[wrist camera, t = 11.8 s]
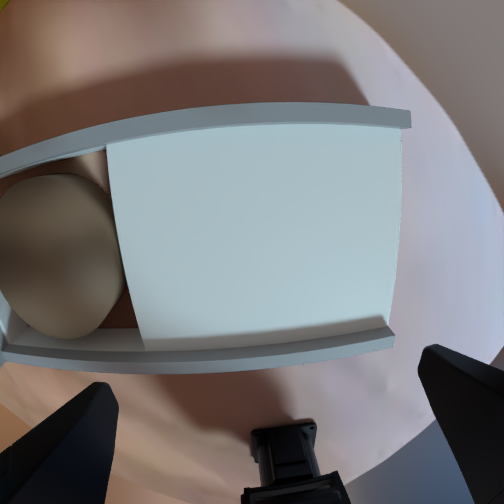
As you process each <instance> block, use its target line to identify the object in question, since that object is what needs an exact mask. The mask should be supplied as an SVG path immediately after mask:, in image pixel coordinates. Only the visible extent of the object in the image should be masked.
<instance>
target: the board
mask: <svg viewBox="0 0 504 504" xmlns="http://www.w3.org/2000/svg"><path fill="white" fill-rule="evenodd" d="M407 128H411V114H410V111H408V110H401V109H394V108H386V107H377V106H367V105H355V104H341V103H319V102H265V103H243V104H228V105H216V106H206V107H197V108H189V109H181V110H174V111H167V112H161V113H155V114H149V115H143V116H138V117H133V118H128V119H123V120H118V121H114V122H109V123H105V124H101V125H97V126H93V127H89V128H85V129H81V130H78V131H74V132H70V133H67V134H64V135H60V136H57V137H54V138H51V139H48V140H45V141H42V142H39V143H36V144H33V145H30V146H27V147H24V148H22V149H19V150H16V151H14V152H11V153H9V154H6V155H4V156H1V157H0V179H2V178H5V177H7V176H10V175H13V174H16V173H19V172H22V171H26V170H29V169H32V168H35V167H39V166H42V165H45V164H49V163H52V162H56V161H60V160H63V159H67V158H71V157H75V156H79V155H83V154H88V153H92V152H97V151H101V150H106V149H107V161H108V171H109V180H110V188H111V196H112V203H113V210H114V216H115V222H116V228H117V234H118V240H119V245H120V250H121V255H122V260H123V265H124V270H125V274H126V279H127V283H128V287H129V292H130V296H131V300H132V304H133V308H134V312H135V315H136V319H137V323H138V326H139V328H111V329H95V330H94V331H92V332H91V333H89V334H87V335H85V336H83V337H79V338H75V339H59V338H55V337H51V336H48V335H46V334H43V333H41V332H39V331H37V330H36V329H34V328H33V327H28V326H27V323H26V322H25V321H24V320H22V319H21V318H20V317H19V316H18V315H17V314H16V312H15V311H14V310H13V309H12V308H11V306H10V305H9V304H8V302H7V301H6V299H5V298H4V296H3V294H2V292H1V290H0V368H1V367H2V366H3V364H4V363H5V362H6V361H8V362H13V363H19V364H26V365H32V366H39V367H47V368H55V369H64V370H74V371H86V372H100V373H119V374H199V373H219V372H234V371H247V370H257V369H267V368H276V367H285V366H292V365H300V364H307V363H314V362H320V361H326V360H332V359H338V358H343V357H349V356H354V355H359V354H364V353H369V352H374V351H378V350H383V349H387V348H391V347H393V344H394V340H395V334H394V333H393V332H392V331H391V329H390V328H389V327H388V323H389V317H390V311H391V305H392V298H393V291H394V284H395V276H396V268H397V258H398V248H399V235H400V220H401V195H402V153H401V129H407Z"/></svg>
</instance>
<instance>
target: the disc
mask: <svg viewBox="0 0 504 504" xmlns="http://www.w3.org/2000/svg"><path fill="white" fill-rule="evenodd" d="M127 284H128V283H127V279H126V274H125V270H124V265H123V260H122V255H121V250H120V245H119V240H118V234H117V228H116V222H115V216H114V210H113V203H112V199H111V198H110V197H109V196H108V195H107V193H106V192H105V191H103V190H102V189H101V188H100V187H99V186H98V185H96V184H95V183H93V182H92V181H90V180H88V179H86V178H84V177H82V176H78V175H75V174H69V173H58V174H51V175H45V176H39V177H33V178H28V179H24V180H22V181H20V182H18V183H16V184H14V185H13V186H12V187H10V188H9V189H8V190H7V191H6V192H5V193H4V194H3V196H2V197H1V199H0V290H1V292H2V294H3V296H4V298H5V299H6V301H7V302H8V304H9V305H10V306H11V308H12V309H13V310H14V311H15V312H16V314H17V315H18V316H19V317H20V318H21V319H22V320H24V321H25V322H26V323H27V324H28V325H30V326H31V327H33V328H34V329H36V330H37V331H39V332H41V333H43V334H46V335H48V336H51V337H55V338H59V339H75V338H79V337H83V336H85V335H87V334H89V333H91V332H92V331H94V330H95V329H96V328H97V327H98V326H99V325H100V324H101V323H102V321H103V320H104V319H105V317H106V316H107V314H108V313H109V312H110V310H111V309H112V308H113V306H114V305H115V303H116V302H117V301H118V299H119V298H120V297H121V295H122V294H123V292H124V290H125V288H126V286H127Z"/></svg>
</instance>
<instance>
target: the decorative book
mask: <svg viewBox="0 0 504 504" xmlns="http://www.w3.org/2000/svg"><path fill="white" fill-rule="evenodd" d="M9 1H10V0H0V11H1V10H2V9H3V7H4V6H5V5H6V4H7V3H8V2H9Z"/></svg>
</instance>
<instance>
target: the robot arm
mask: <svg viewBox="0 0 504 504" xmlns="http://www.w3.org/2000/svg"><path fill="white" fill-rule="evenodd" d="M418 375H419V378H420V380H421V383H422V385H423V388H424V390H425V393H426V395H427V398H428V400H429V403H430V406H431V408H432V411H433V413H434V415H435V417H436V419H437V421H438V423H439V425H440V427H441V429H442V431H443V433H444V435H445V438H446V440H447V442H448V444H449V446H450V448H451V450H452V452H453V454H454V456H455V459H456V461H457V463H458V465H459V468H460V470H461V472H462V474H463V476H464V479H465V481H466V483H467V486H468V488H469V491H470V493H471V496H472V498H473V501H474V503H475V504H504V371H502V370H500V369H498V368H495V367H493V366H490V365H488V364H485V363H483V362H480V361H478V360H475V359H473V358H470V357H468V356H466V355H463V354H461V353H458V352H456V351H453V350H451V349H448V348H446V347H443V346H441V345H439V344H433V345H429V346H426V347H425V348H424V349H423V352H422V355H421V359H420V362H419V365H418ZM118 412H119V406H118V402H117V400H116V398H115V396H114V394H113V392H112V390H111V387H110V386H109V384H108V383H106V382H93V383H92V384H91V385H89V386H88V387H87V388H85V389H84V390H83V391H81V392H80V393H79V394H78V395H76V396H75V397H74V398H72V399H71V400H70V401H68V402H67V403H66V404H65V405H63V406H62V407H61V408H59V409H58V410H57V411H55V412H54V413H53V414H51V415H50V416H49V417H47V418H46V419H45V420H44V421H42V422H41V423H40V424H38V425H37V426H36V427H34V428H33V429H32V430H30V431H29V432H28V433H26V434H25V435H24V436H22V437H21V438H20V439H18V440H17V441H16V442H15V443H13V444H12V446H9V447H8V448H6V449H5V450H4V451H3V452H1V453H0V504H104V503H105V498H106V492H107V486H108V481H109V476H110V471H111V466H112V461H113V456H114V448H115V438H116V429H117V420H118ZM316 431H317V425H316V423H315V422H310V423H304V424H298V425H291V426H284V427H276V428H267V429H258V430H253V431H252V432H251V437H252V445H253V453H254V460H255V463H259V472H260V481H261V487H255V488H250V487H248V488H244V494H242V495H241V504H351V502H350V499H349V497H348V494H347V492H346V490H345V487H344V485H343V483H342V480H341V478H340V476H339V473H338V471H334V472H332V473H329V474H325V475H321V474H320V471H319V467H318V463H317V460H316V456H315V452H314V444H315V437H316Z"/></svg>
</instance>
